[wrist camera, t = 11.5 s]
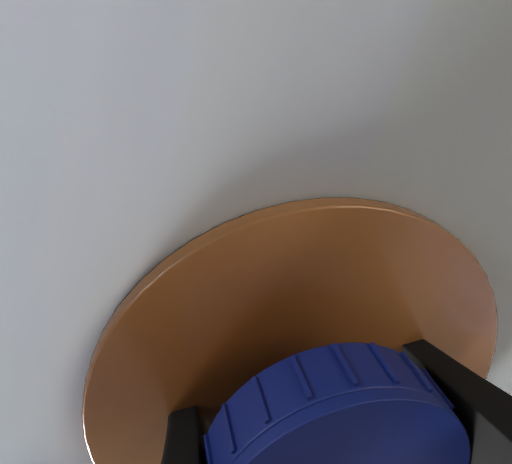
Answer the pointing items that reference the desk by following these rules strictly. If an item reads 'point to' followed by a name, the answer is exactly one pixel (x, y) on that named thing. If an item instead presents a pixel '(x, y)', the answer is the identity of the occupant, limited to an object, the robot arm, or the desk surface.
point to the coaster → (277, 312)
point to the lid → (339, 413)
